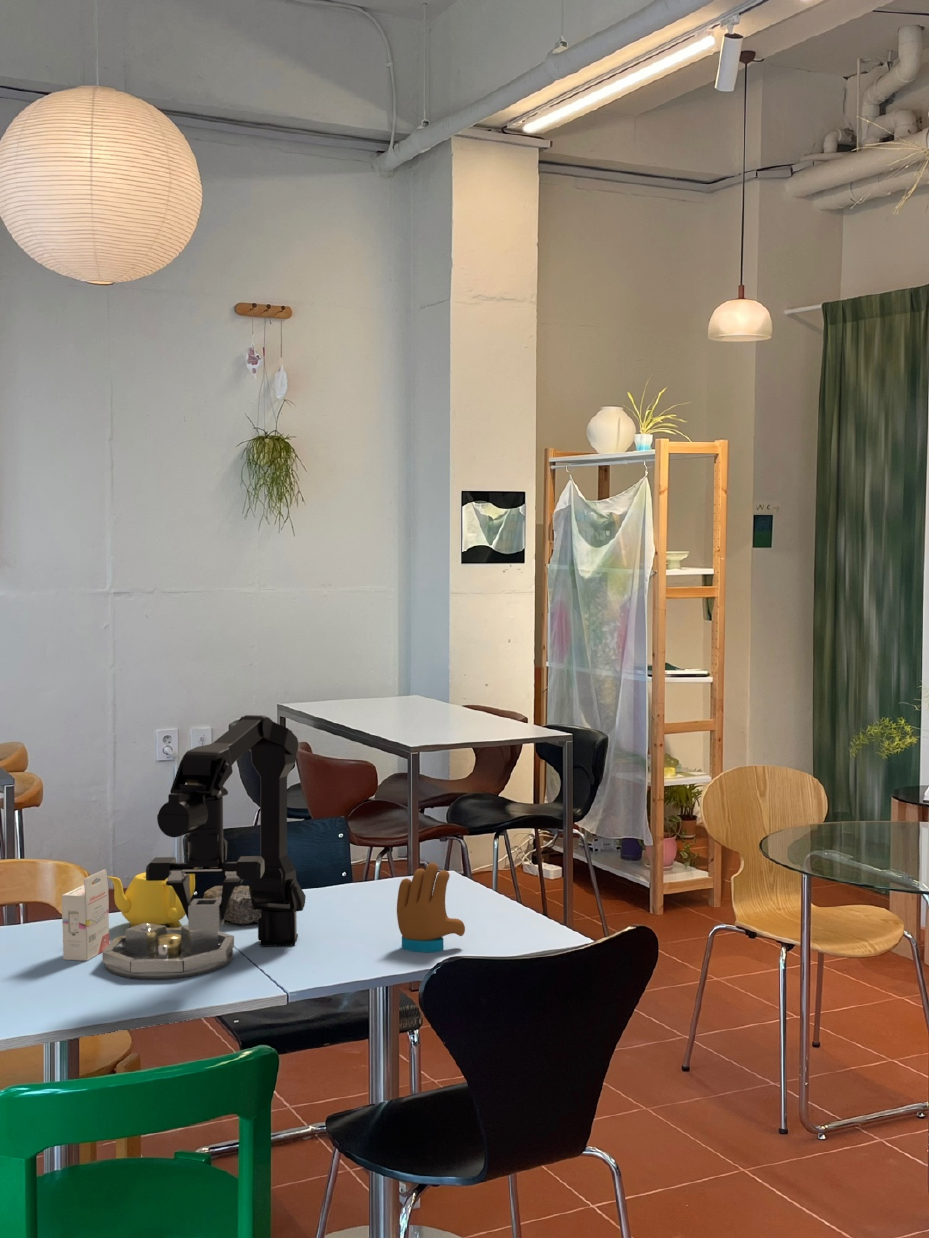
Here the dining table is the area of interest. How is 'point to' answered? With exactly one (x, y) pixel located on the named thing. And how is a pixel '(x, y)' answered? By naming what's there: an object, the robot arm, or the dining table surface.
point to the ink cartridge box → (86, 919)
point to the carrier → (167, 952)
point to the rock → (236, 905)
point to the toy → (425, 911)
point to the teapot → (150, 901)
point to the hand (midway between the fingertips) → (206, 919)
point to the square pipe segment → (205, 914)
